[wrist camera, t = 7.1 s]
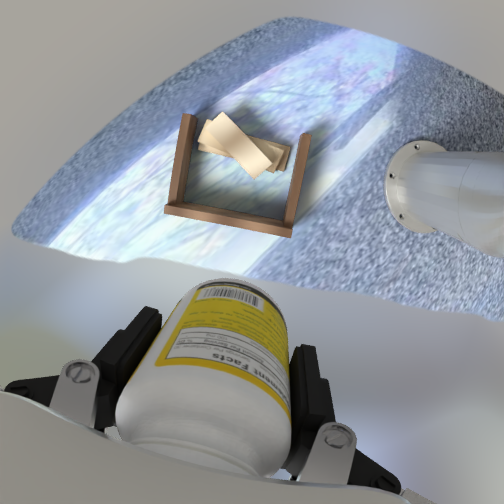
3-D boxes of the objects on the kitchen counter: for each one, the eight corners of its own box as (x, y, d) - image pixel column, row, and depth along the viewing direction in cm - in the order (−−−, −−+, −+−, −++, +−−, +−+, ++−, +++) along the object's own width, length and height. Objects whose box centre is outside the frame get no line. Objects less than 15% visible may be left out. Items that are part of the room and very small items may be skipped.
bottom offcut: (289, 147, 37) (290, 147, 35) (283, 171, 38) (283, 171, 36) (206, 126, 36) (204, 125, 35) (200, 150, 37) (197, 149, 36)
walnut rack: (308, 137, 35) (312, 134, 31) (288, 229, 39) (290, 238, 34) (190, 117, 35) (180, 112, 31) (175, 207, 39) (163, 213, 35)
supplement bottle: (218, 384, 15) (173, 548, 6) (155, 307, 14) (40, 461, 5) (308, 344, 14) (327, 537, 5) (247, 252, 13) (182, 444, 4)
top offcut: (272, 163, 35) (272, 163, 34) (254, 178, 36) (254, 179, 34) (224, 112, 33) (222, 111, 32) (207, 128, 34) (204, 128, 33)
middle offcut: (283, 151, 36) (284, 150, 34) (273, 172, 37) (273, 173, 35) (209, 120, 35) (207, 118, 34) (199, 141, 36) (197, 141, 35)
